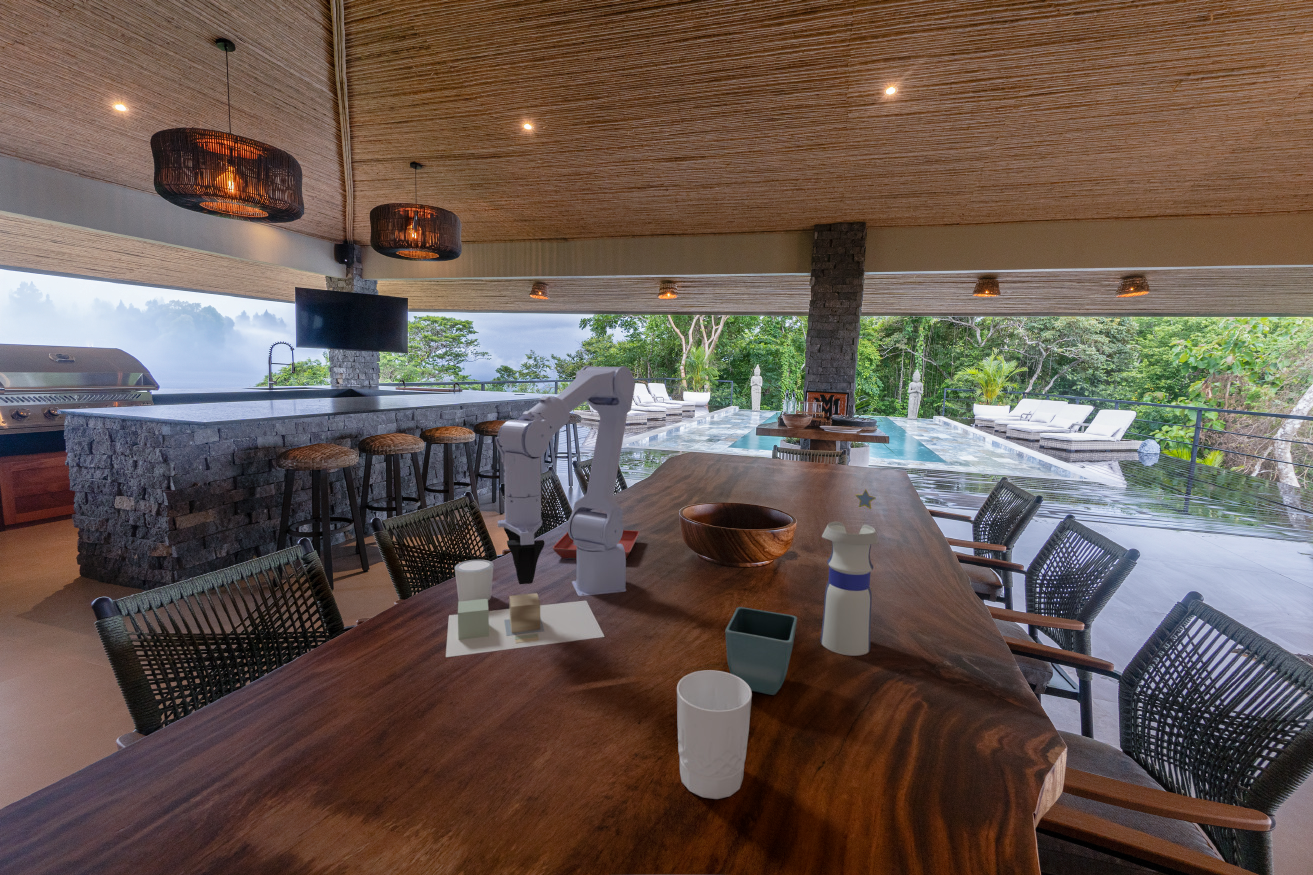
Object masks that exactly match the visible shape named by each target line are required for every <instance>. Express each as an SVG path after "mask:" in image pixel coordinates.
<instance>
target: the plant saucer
mask: <svg viewBox="0 0 1313 875" xmlns="http://www.w3.org/2000/svg"><path fill="white" fill-rule="evenodd" d="M640 534H641V531H639V530H630V529H629V530H628V529H627V530H626V529H623V534H622V537H621V539H620V541H619V542H618V544H622V545H623V547H624V550H625V556H626V558H628V556H629V555H630V552H632V549H633V547H634V545H635V543H636V541H637V539H638V536H639V535H640ZM552 550H553V552H555V553H556V555H558V556H559V557H560V558H561V557H562V559H564V558H575V559H574V560H577V546H576V545H574V540H572V539H571V538H570V537H569V534H568V531H567V532H566V533H565V534H564V535H563V536H562V537H561V538H560V539H559V540H558V541H557V542H555V544H554V545H553V546H552Z"/></svg>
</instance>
